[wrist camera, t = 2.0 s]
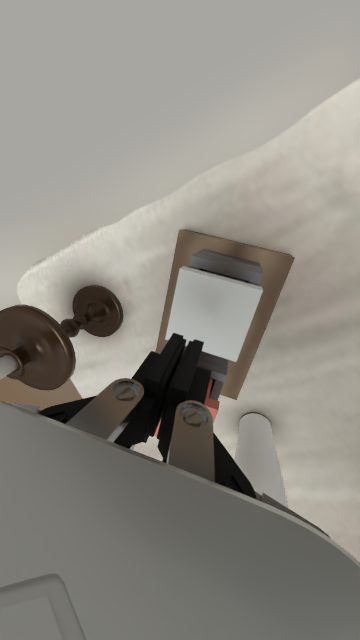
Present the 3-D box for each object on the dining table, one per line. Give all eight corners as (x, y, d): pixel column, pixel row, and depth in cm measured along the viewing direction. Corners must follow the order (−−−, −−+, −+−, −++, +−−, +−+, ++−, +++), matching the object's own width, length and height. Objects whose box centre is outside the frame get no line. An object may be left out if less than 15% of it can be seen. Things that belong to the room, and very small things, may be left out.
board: (290, 254, 29) (309, 267, 20) (237, 387, 39) (234, 437, 30) (184, 229, 31) (160, 230, 23) (158, 361, 41) (133, 399, 32)
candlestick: (83, 341, 43) (-339, 642, 12) (62, 284, 40) (-608, 501, 9) (135, 337, 40) (-263, 738, 9) (117, 275, 37) (-651, 572, 5)
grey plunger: (257, 270, 24) (263, 290, 17) (238, 324, 27) (236, 362, 20) (199, 255, 25) (179, 268, 18) (186, 309, 28) (165, 339, 21)
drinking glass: (228, 412, 41) (219, 504, 27) (266, 404, 38) (278, 501, 25) (243, 441, 42) (242, 541, 29) (281, 435, 40) (300, 542, 26)
